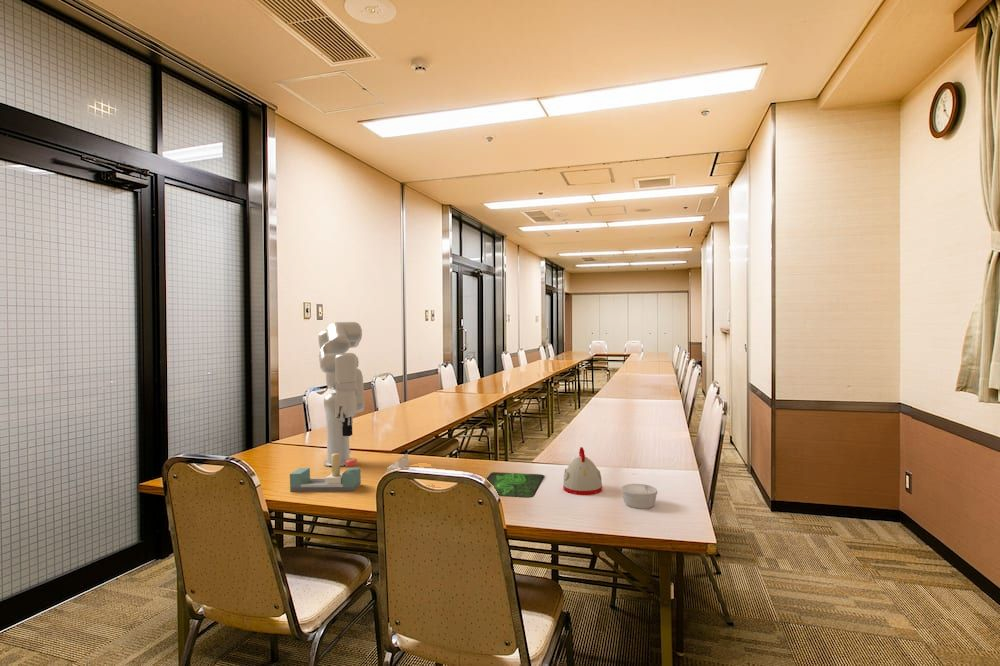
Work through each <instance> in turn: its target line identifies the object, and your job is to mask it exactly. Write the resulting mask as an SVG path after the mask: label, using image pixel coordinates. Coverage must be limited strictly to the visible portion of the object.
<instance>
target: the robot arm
mask: <svg viewBox="0 0 1000 666" xmlns="http://www.w3.org/2000/svg"><path fill="white" fill-rule="evenodd" d="M362 329H363V328H362V327H361V325H360V323H358V322H355V321H341V322H340V321H338V322H337V321H336V322H333V323H330V324H329V325H328V326H327V327H326V329H325V330H322V331H320V332H319V333H318V344H319V345H318V346H319V349H320V350H319V354H318V358H319V359H318V360H319V366H320V369H321V371H322V372H323V373H325V383H326V387H327V388H328V389H329V390H331V391H332V390H334V391H335V392H332V393H329V394H327V395H325V396H324V398H323V408H324V413H325V420H326V421H325V422H326V454H327V455H326V456H327V457H326V458H327V459H326V460H325V461H323V465H324V466H325V467H329V466H332V462H331V454H334V453H339V454H340V467H343V466H344V465H345V466H346V460H349V459H353V458H352V457H350V454H351V452H352V451H351V449H350V437H351V436H353V421H354V420H353V419H354V418H355V415H356V414H357V413H360V412H363V411H364V410H365V403H366V402H365V391H364V390H365V389H364V376H363V373H362V372H363V371H362V370H361V369H359V368H358V367H359V357H358V356H357V355H356V354H355V353H353V352H348V351H349V349H350V348H353V349H354V348H357V347H358V346H359V344H360V342H361V341H362V337H363V330H362Z"/></svg>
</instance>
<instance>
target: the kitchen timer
mask: <svg viewBox="0 0 1000 666" xmlns="http://www.w3.org/2000/svg"><path fill="white" fill-rule="evenodd" d="M578 454H579V455H578V456H577V457H575V458H574V459H573V460H572V461H571V462H570V463H569V465H568V467H567V468H565V469H564V474H563V491H564V492H566V493H567V494H571V495H575V496H593V495H598V494H601V493H602V491H603V482H602V475H601V471H600V470H599V469H598V468H597V466H596V465H595V463H594V462H593V461H592V460H591V459H590V458H589V457H587V456H586V454H585V449H584V448H583V446H581V447H579V451H578Z"/></svg>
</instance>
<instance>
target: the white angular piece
mask: <svg viewBox="0 0 1000 666" xmlns="http://www.w3.org/2000/svg"><path fill="white" fill-rule="evenodd" d="M403 460H404V461H403ZM404 467H409V468H410V462H409V454H408V453H405V454H404V455H402V456H401V457H400V458H398V461H394V462H393V463H392V464H391V465H389V466H387V467H386V473H387V472H389V471H391V470H394V469H398V468H404Z"/></svg>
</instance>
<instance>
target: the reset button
mask: <svg viewBox="0 0 1000 666" xmlns="http://www.w3.org/2000/svg"><path fill="white" fill-rule="evenodd" d="M357 466H358V460H357V459H356V458H355V459H354V458H352V459H349V460H346V465H345V468H356V467H357Z"/></svg>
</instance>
